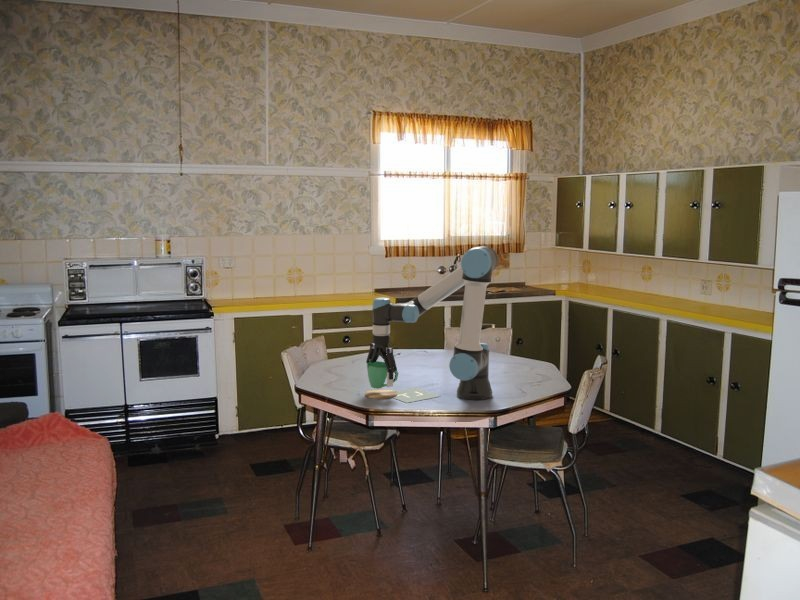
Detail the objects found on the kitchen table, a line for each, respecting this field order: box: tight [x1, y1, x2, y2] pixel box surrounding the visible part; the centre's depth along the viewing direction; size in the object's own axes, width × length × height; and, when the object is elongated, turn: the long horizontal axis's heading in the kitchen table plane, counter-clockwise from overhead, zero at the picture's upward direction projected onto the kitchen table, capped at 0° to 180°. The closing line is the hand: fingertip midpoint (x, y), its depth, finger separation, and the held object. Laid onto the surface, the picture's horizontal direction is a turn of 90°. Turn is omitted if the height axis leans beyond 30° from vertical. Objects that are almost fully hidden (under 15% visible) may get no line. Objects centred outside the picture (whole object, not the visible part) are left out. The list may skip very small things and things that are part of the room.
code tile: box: [392, 387, 441, 404], centre depth 315 cm, size 18×18×1 cm
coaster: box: [364, 388, 398, 400], centre depth 316 cm, size 14×14×1 cm
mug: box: [366, 360, 399, 389], centre depth 315 cm, size 15×10×10 cm
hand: (381, 383), depth 315 cm, fingers closed on mug, 12 cm apart
